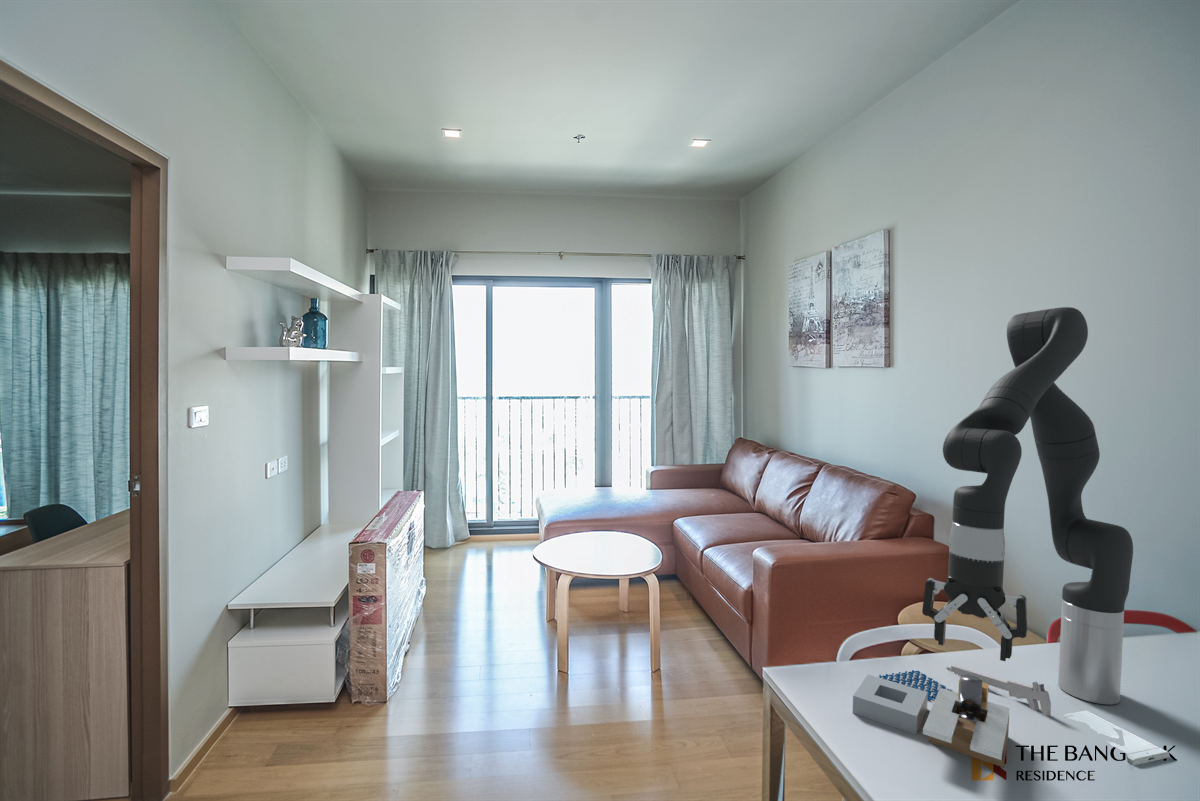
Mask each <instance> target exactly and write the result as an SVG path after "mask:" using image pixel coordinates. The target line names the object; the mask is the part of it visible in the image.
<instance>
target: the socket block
mask: <svg viewBox="0 0 1200 801" xmlns="http://www.w3.org/2000/svg"><path fill="white" fill-rule="evenodd" d="M961 711H966V710H964V709H962V708H961V707H959V706H956V705H955V707H954V710H953V713H955V714H959V712H961ZM974 714H976V715H978V716H979V717H980V718H981V722H984V723H985V721H986V717H987V715H986V714H982V713H974ZM975 725H976V723H975V722H972V721H969V720H965V719H962V718H959V721H958V724H957V727H956V730H955V734H954V737H953V740H952V743H949V742H946V741H943V740H940V739H937V738H934V737H931V736H928V743H931V744H934V745H937V746H940V747H943V748H945V749H948V750H951V751H955V752H957V753H959V754H963V755H965V756H968V757H972V758H975V759H977V760H981V761H984V762H987V763H989V764H992V765H996V766H998V767H1001V768H1004V765H1005V760H1006V753H1007V747H1008V742H1009V728H1010V716H1009V717H1008V723H1007V729H1006V735H1005V741H1004V747H1003V753H1002V759H1001V760H999V759H996V758H993V757H990V756H987V755H984V754H981V753H978V752H975V751H972V750H970V744H971V740H972V736H973V733H974V729H975Z"/></svg>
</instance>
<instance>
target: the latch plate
mask: <svg viewBox="0 0 1200 801" xmlns="http://www.w3.org/2000/svg"><path fill="white" fill-rule="evenodd" d="M960 679H961V676H959V680H958V692H956V691H954V690H953V691H949V690H946V689H942V688H940V689H939V691H938V694H937V696H936V699H934V700H935V701H933V704H932V707H931V708H930V710H929V713H928V716H927V718H926V720H925V723H924V724H923V725H924V726H923V728H922V735H925V736H928V737H929V736H931V737H934V738H937V739H940V740H943V741H946V742H949V743H952V740H953V737H954V734H955V730H956V727H957V724H958V721H959V714H955V713H953V710H954V707H955V705H956V706H959V707H960V705H959V704H960ZM988 699H989V685H988V684H987V683H983V682H982V702H981V712H979V713H982V714H986V715H987V717H986V721H985V723H984V722H981V721H978V720H977V721H976V725H975V729H974V733H973V736H972V740H971V744H970V750H972V751H975V752H978V753H981V754H984V755H987V756H990V757H993V758H996V759H999V760H1001V759H1002V753H1003V747H1004V741H1005V735H1006V729H1007V723H1008V717H1009V718H1010V707H1008V706H1005V705H1001V704H997V703H994V702H990V701H988Z"/></svg>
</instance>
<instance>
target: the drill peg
mask: <svg viewBox="0 0 1200 801" xmlns="http://www.w3.org/2000/svg"><path fill="white" fill-rule="evenodd" d="M960 677H961V679H960V678H959V679H960V704H959V705H960V707H961V708H962V709H964V710H966V711H961V712H959V718H962V719H965V720H969V721H972V722H975V723H976V721H977V720H978V721H981V718H980V717H979V716H978V715H976V714H974V713H979V712H981V702H982V680H981V679H980V678H978V677H976V676H973V675H969V674H963V675H961V676H960Z"/></svg>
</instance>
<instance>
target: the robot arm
mask: <svg viewBox="0 0 1200 801" xmlns="http://www.w3.org/2000/svg"><path fill="white" fill-rule="evenodd" d="M1088 337H1089V329H1088V324H1087V320H1086V318H1085V316H1084V314H1083V313H1082V311H1080V310H1079V309H1078V308H1075V307H1068V306H1065V307H1055V308H1049V309H1048V308H1047V309H1042V310H1041V309H1040V310H1034V311H1028V312H1023V313H1018V314H1015V315H1012V317H1011V318H1009V321H1008V323H1007V328H1006V340H1007V345H1008V350H1009V353H1010V355H1011V356H1010V357H1011V360H1012V362H1013V365H1014V367H1015V368H1013V369H1012V370H1010V371H1009V372H1007V373H1005V374H1004V375H1003V376H1001V377H1000V378H999V379H997V381H995V383H993V385H992V386H991V387H990V389H989V390H988V392H987V393H986V395H985V396H984V398H983V400H982V402H981V403H980V404H979V406H978V407H977V408H976V409H975V410H973V411H972V412H971V413H969V414H968V415H967V416H965V417H964V418H963V419H962V420H960V421H959V422H958V423H957V424H955V426H953V427H952V428H951V429H950V431H949V432H948V434H947V435H946V436H945V439H944V441H943V444H942V453H943V454H942V455H943V458H944V461H945V462H946V464H948V465H949V466H950V467H951V468H953V469H955V470H959V471H964V472H974V473H981V474H982V473H983V474H986V475H987V476H986V479H985V480H984V482H983V483H982V484H981V485H980V484H979V485H963V486H959V487H957V488H956V489H955V491H954V494H953V499H952V500H953V502H952V503H953V505H952V524H951V529H950V534H949V541H948V548H949V551H948V568H947V570H948V571H947V573H948V574H947V580H946V582H945V581H940V580H936V578H934V577H929V578H928V579H927V580H926V581H925V583H924V584H925V586H924V592H923V593H924V594H923V602H922V611H921V613H922V615H924V616H926V617H929V618H931V619H932V620H933V622H934V632H933V638H934V640H935V641H938V642H937V644H938V645H939V646H944V645H945V642H946V630H947V629H946V626H947V620H946V619H947V618H948V617H949V616H950V615H951V614H953V613H954V612H955V611H956V610H957V611H958V612H960V613H961V614H962V615H968V616H969V615H972V616H975V617H977V618H980V619H985V618H988V619H990V621H991V622H992V624H993V625H994V626H995V627H996V628H997V629H998V631H999V632H1000V634H1001V636H1000V637H1001V638H1000V655H999V660H1000V661H1001V662H1006V660H1007V659H1011V657H1012V653H1013V640H1014V639H1015V638H1021V639H1024V638H1026V637H1027V634H1028V610H1027V609H1028V608H1027V607H1028V605H1027V602H1028V601H1027V597H1026V596H1025V595H1022V594H1019V595H1018V596H1016V595H1008V594H1006V593H1005V592H1004V587H1003V586H1004V572H1005V570H1004V567H1005V566H1004V565H1005V554H1006V552H1005V551H1006V550H1005V549H1006V548H1005V546H1006V541H1005V540H1006V538H1005V533H1004V532H1005V531H1004V530H1005V529H1004V527H1005V526H1004V525H1005V511H1006V510H1005V509H1006V508H1005V507H1006V502H1007V498H1008V493H1009V490H1010V488H1011V485H1012V482H1013V479H1014V476H1015V474H1016V472H1017V470H1018V467H1019V465H1020V462H1021V459H1022V454H1023V453H1022V451H1023V450H1022V446H1021V445H1022V444H1021V443H1020V440H1019V439H1018V437H1017V435H1018V434H1020V433H1021V432H1022V430H1023V429H1024V428H1025V426H1026V424H1027V422H1028V420H1029V419H1030V423H1031V427H1032V429H1031V430H1032V434H1033V440H1034V443H1035V448H1036V452H1037V456H1038V458H1039V463H1040V466H1041V470H1042V475H1043V480H1044V484H1045V489H1046V495H1047V501H1048V509H1049V519H1050V528H1051V529H1050V530H1051V537H1052V542H1053V546H1054V550H1055V551H1056V553H1057V555H1058V556H1059V558H1061V559H1062V560H1063V561H1065V562H1067V563H1070V564H1072V565H1075V566H1080V567H1083V568H1087V569H1090V570H1091V575H1090V576H1091V577H1090V580H1089V581H1074V582H1068V583H1065V584H1064V585H1063V586H1062V590H1061V597H1062V598H1061V612H1060V613H1061V615H1060V616H1061V619H1060V640H1059V656H1058V657H1059V659H1058V660H1059V663H1058V684H1057V685H1058V686H1059V689H1061V690H1062V691H1063V692H1065V693H1067V694H1069V695H1070V696H1073V697H1075V698H1078V699H1081V700H1083V701H1086V702H1089V703H1090V702H1091V703H1094V704H1099V705H1100V704H1101V705H1116V704H1119V703H1120V702H1121V687H1122V686H1121V683H1122V682H1121V681H1122V665H1123V663H1122V662H1123V641H1124V620H1125V603H1126V601H1127V597H1128V594H1129V591H1130V584H1131V573H1132V566H1133V565H1132V564H1133V558H1134V542H1133V538H1132V536H1131V534H1130V532H1129V531H1128V530H1127V529H1126V528H1125V527H1123V526H1121V525H1117V524H1114V523H1109V522H1104V521H1100V520H1093V519H1088V518H1087V517H1086V515H1085V513H1084V508H1083V502H1082V501H1083V500H1082V494H1083V491H1084V489H1085V487H1086V484H1087V483H1088V482H1089V480H1091V477H1092V476H1093V474H1094V472H1095V470H1096V469H1097V466H1098V464H1099V461H1100V455H1101V454H1100V453H1101V452H1100V448H1099V442H1098V439H1097V434H1096V429H1095V425H1094V423H1093V421H1092V420H1091V417H1090V416H1089V415H1088V414H1087V413H1086V412H1085V411H1084V410H1083V409H1082V408H1081V407H1080V406H1079V405H1078V404H1077V403H1076V402H1075V401H1074V400H1072V398H1070V397H1069V395H1067V394H1066V393H1065V392H1063V391H1062V389H1061V388H1059V387H1058V385H1057V384H1056V381H1057V380H1058V379H1059V378H1060V377H1061V376H1062V374H1063V373H1065V371H1066V370H1067V369H1068V368H1069V367H1070V365H1072V364H1073V362H1075V360H1076V359H1077V358H1078V357H1079V356H1080V354H1082V352H1083V350H1084V348H1085V347H1086V344H1087V341H1088ZM942 590H943V591H944V592H945V594H946V595H947V598H949V600H948V602H946V604H944V605H943V607H941V608H940V609H939V610H938V609H936V608H935V607H934V601H935V595H938V594H939V593H940V591H942ZM1005 603H1006V604H1008V605H1009V606H1010V609H1011V610H1012V611H1014V612H1016V616H1015V617H1016V626H1011V625H1010V623H1009V622H1008V621H1007V620H1006V618H1005V616H1004V614H1003V613H1002V611H1001V610H1000V608H1001V607H1002V606H1003V605H1005Z"/></svg>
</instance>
